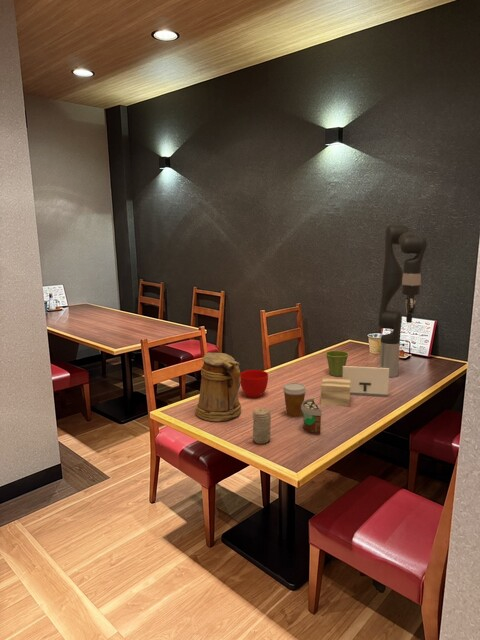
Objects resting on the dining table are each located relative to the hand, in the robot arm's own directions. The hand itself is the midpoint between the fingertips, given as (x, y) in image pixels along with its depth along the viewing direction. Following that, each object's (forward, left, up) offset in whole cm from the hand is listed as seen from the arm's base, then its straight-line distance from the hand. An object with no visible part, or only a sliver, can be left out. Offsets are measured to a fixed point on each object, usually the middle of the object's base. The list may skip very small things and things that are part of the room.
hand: (408, 322), depth 204 cm
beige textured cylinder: (+59, -56, -33) cm, 88 cm away
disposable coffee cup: (+33, -47, -33) cm, 66 cm away
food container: (+46, -40, -33) cm, 69 cm away
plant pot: (-21, -31, -33) cm, 50 cm away
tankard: (+39, -76, -33) cm, 92 cm away
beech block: (+16, -31, -33) cm, 48 cm away
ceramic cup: (+13, -67, -33) cm, 76 cm away
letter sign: (+4, -18, -33) cm, 38 cm away
